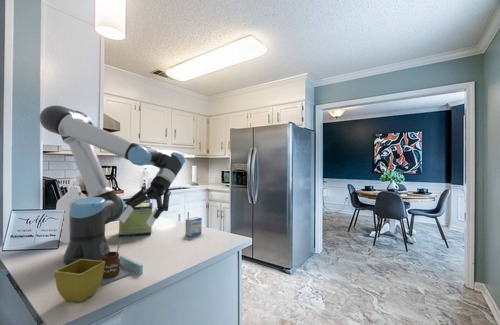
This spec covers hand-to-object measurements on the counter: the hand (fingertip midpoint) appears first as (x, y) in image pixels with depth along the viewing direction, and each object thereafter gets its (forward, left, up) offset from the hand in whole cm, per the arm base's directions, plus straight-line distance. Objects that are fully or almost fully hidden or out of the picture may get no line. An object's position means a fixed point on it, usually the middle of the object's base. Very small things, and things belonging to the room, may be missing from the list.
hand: (134, 223), depth 90 cm
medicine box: (-10, +39, -16) cm, 44 cm away
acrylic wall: (+3, -3, -16) cm, 16 cm away
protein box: (-35, +21, -16) cm, 44 cm away
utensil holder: (+2, -10, -15) cm, 18 cm away
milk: (-51, -2, -16) cm, 54 cm away
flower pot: (+9, -21, -16) cm, 27 cm away
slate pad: (+3, -10, -16) cm, 19 cm away
